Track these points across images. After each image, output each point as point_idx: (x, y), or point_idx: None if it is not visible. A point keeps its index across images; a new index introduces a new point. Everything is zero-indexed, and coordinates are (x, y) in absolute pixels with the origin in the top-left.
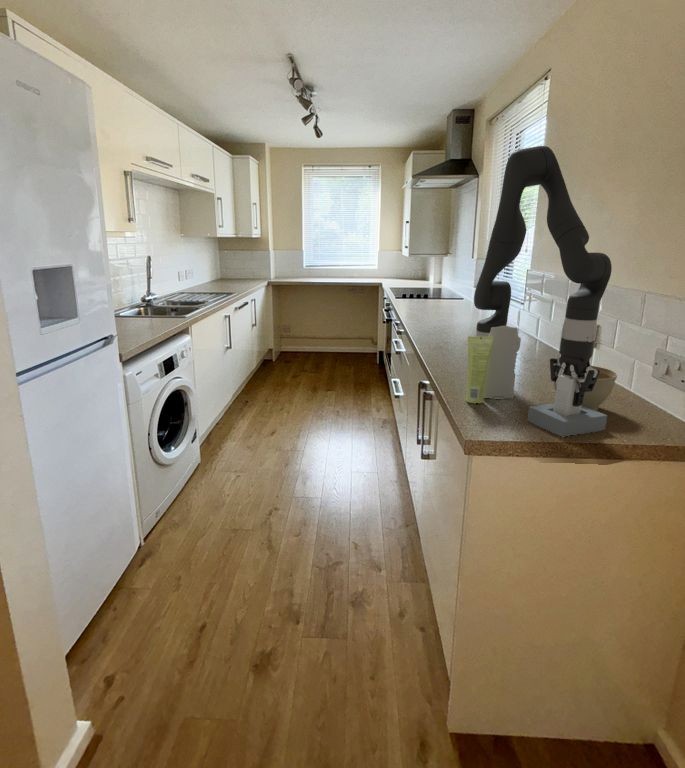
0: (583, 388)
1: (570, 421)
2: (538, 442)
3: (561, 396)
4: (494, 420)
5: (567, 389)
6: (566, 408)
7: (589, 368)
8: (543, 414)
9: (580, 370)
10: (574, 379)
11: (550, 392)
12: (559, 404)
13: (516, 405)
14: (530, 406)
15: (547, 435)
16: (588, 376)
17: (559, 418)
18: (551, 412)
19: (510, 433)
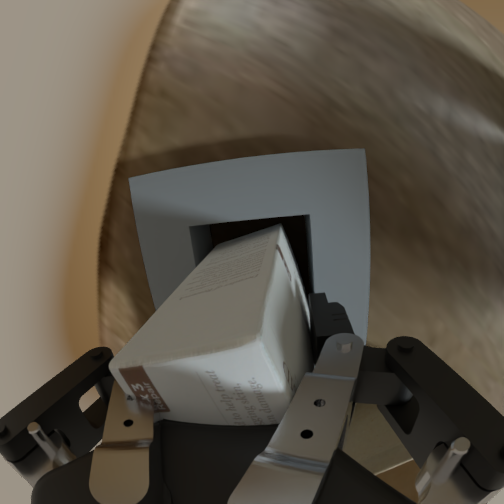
0: (92, 361)
1: (135, 213)
2: (144, 72)
3: (230, 271)
4: (376, 41)
5: (177, 307)
6: (205, 262)
7: (23, 475)
8: (256, 156)
9: (74, 464)
10: (119, 384)
11: (485, 395)
12: (244, 252)
13: (484, 236)
14: (365, 157)
15: (187, 134)
16: (24, 414)
17: (169, 185)
18: (255, 203)
19: (239, 20)
